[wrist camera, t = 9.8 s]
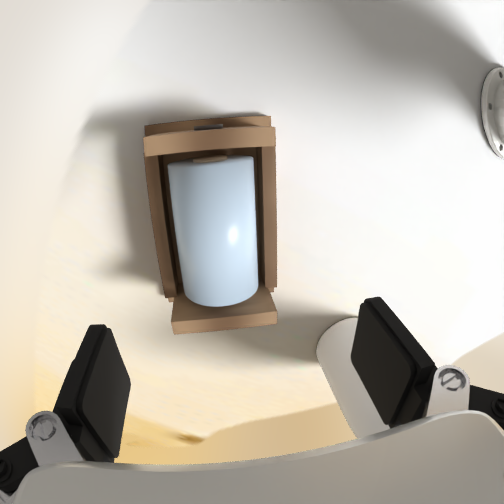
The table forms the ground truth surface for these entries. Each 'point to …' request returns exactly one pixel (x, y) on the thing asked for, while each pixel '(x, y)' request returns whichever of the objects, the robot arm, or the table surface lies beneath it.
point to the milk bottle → (347, 379)
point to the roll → (215, 227)
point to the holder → (156, 165)
